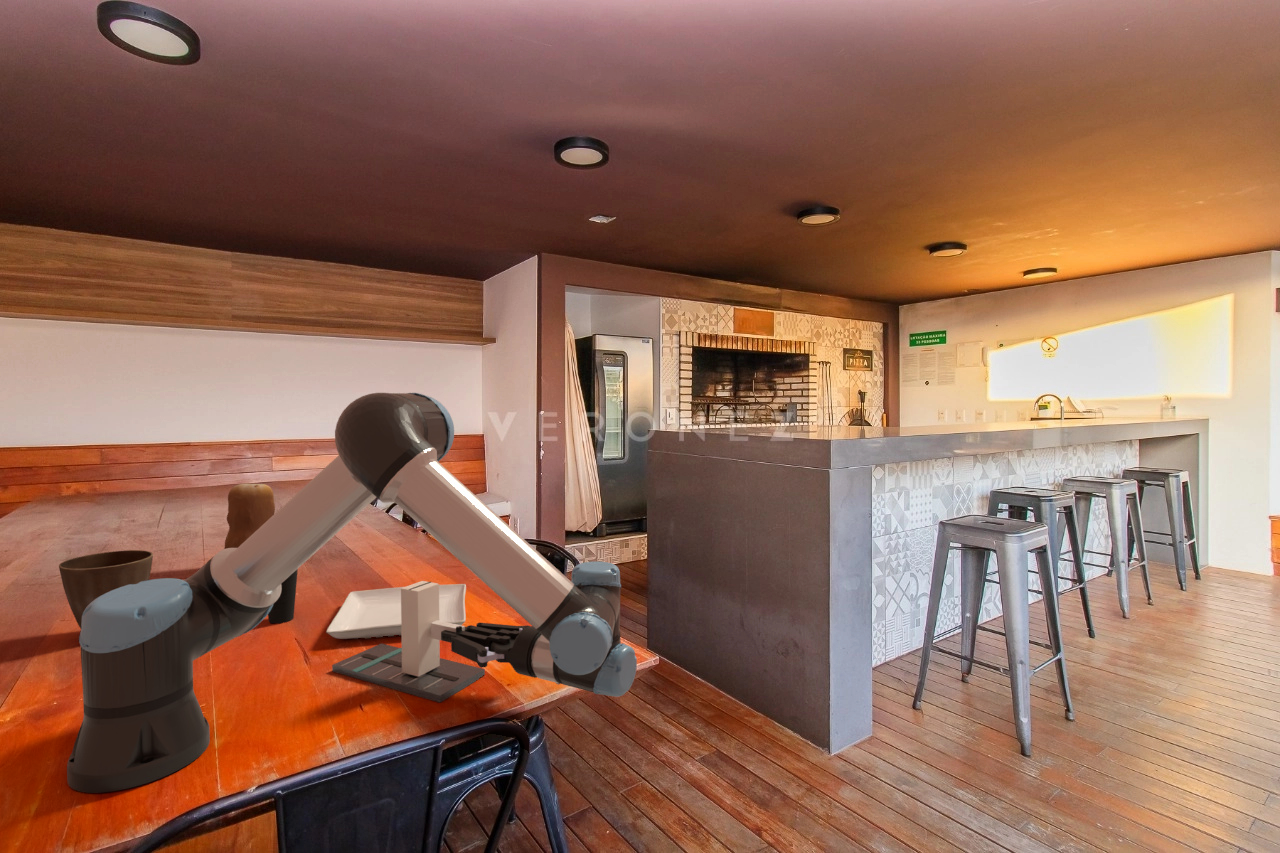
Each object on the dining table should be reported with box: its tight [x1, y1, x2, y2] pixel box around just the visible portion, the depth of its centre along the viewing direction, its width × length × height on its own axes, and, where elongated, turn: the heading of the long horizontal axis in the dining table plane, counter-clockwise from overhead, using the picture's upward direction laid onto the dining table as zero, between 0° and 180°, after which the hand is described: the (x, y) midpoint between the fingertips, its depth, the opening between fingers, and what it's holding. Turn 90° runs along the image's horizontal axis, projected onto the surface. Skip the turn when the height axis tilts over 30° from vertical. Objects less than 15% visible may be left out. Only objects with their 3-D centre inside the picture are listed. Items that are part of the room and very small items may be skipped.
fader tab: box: [400, 580, 441, 677], centre depth 109 cm, size 4×5×15 cm
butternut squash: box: [224, 483, 276, 549], centre depth 179 cm, size 14×13×25 cm
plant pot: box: [58, 549, 154, 630], centre depth 128 cm, size 15×15×16 cm
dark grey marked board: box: [331, 643, 486, 704], centre depth 110 cm, size 26×11×1 cm, turn 64°
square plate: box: [325, 583, 467, 640], centre depth 138 cm, size 27×27×4 cm
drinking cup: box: [267, 568, 299, 624], centre depth 136 cm, size 8×8×20 cm
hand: (433, 629), depth 108 cm, fingers closed
